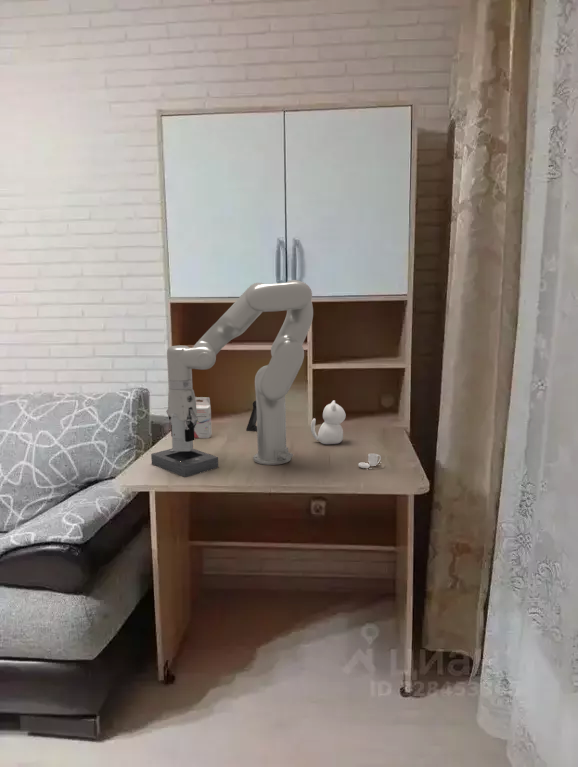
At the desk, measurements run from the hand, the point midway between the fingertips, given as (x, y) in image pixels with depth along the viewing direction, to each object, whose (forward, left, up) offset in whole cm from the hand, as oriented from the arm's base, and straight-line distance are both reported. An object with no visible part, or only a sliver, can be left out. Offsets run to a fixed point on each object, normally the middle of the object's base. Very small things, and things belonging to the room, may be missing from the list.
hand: (182, 438), depth 220 cm
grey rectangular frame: (0, 0, -9) cm, 9 cm away
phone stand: (+16, -46, -10) cm, 50 cm away
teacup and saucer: (-42, -41, -10) cm, 59 cm away
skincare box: (0, 0, -4) cm, 4 cm away
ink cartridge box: (+25, -24, -10) cm, 36 cm away
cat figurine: (-16, -51, -10) cm, 54 cm away
